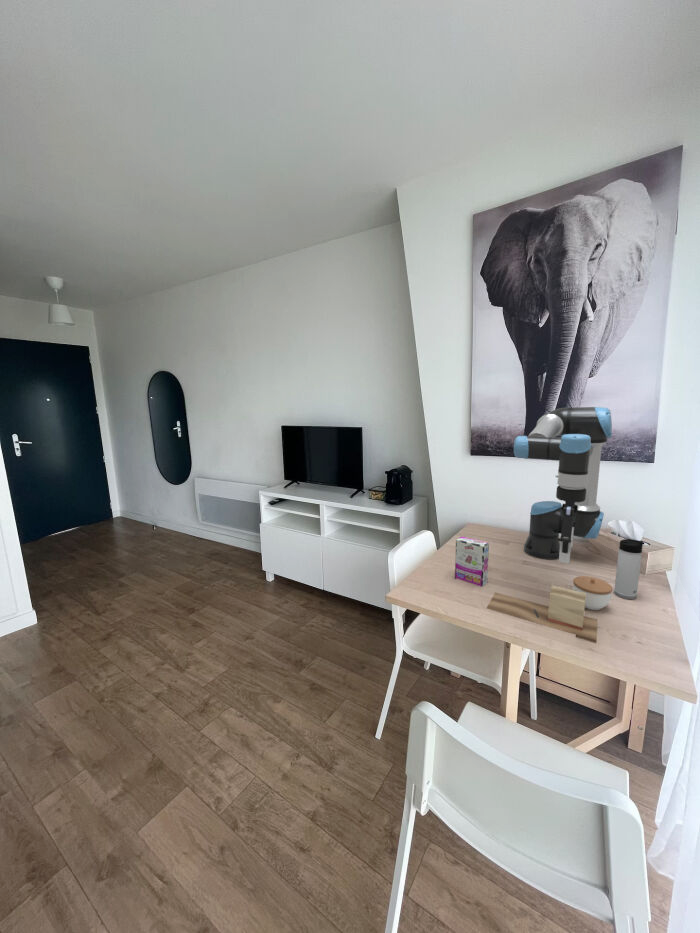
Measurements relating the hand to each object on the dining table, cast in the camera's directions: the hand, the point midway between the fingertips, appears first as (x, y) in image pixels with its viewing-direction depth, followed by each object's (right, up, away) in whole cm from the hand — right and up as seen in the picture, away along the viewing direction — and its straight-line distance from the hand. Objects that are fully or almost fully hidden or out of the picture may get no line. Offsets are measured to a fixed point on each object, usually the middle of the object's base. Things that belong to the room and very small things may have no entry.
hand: (565, 553), depth 111 cm
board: (-6, -21, +4) cm, 22 cm away
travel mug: (+30, -18, +15) cm, 38 cm away
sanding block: (0, -20, 0) cm, 20 cm away
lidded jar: (+14, -20, +10) cm, 26 cm away
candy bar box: (-20, -17, +27) cm, 38 cm away
